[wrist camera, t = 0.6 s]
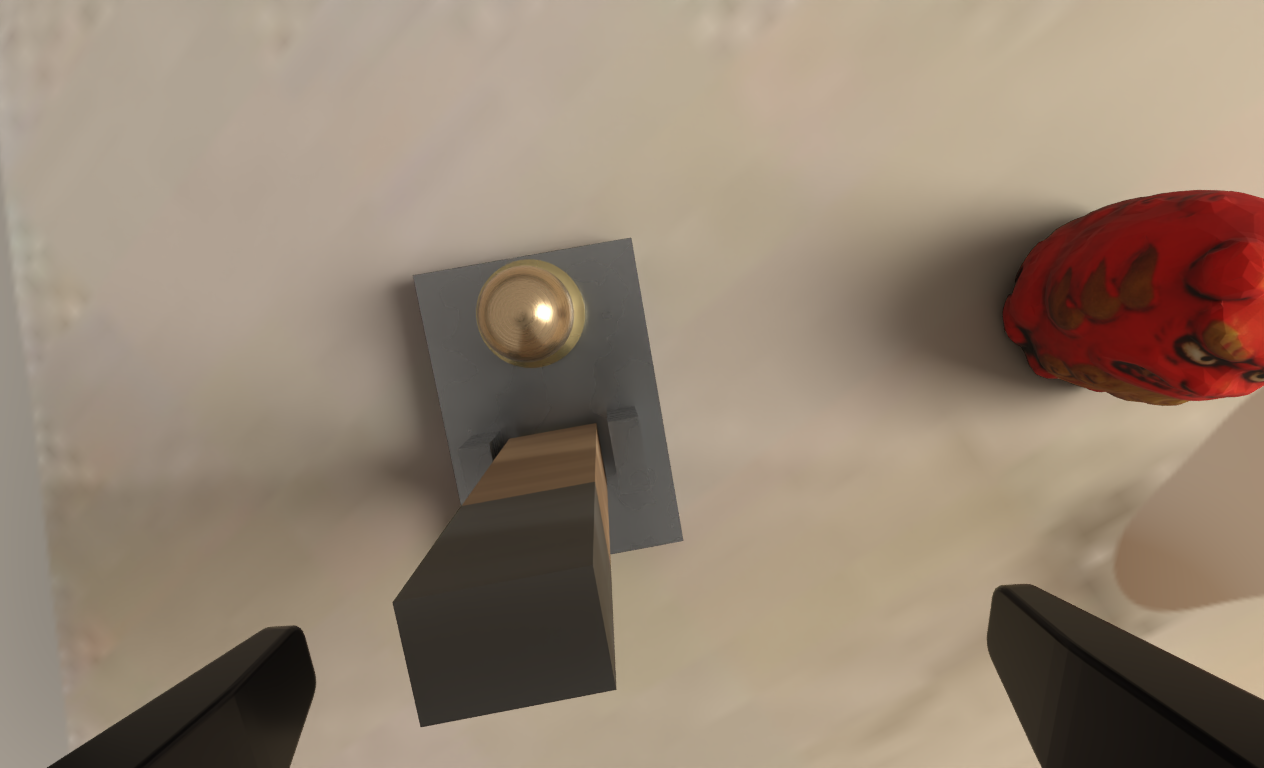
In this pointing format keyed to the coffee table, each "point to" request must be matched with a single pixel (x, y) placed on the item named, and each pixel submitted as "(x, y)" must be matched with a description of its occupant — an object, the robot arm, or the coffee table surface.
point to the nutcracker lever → (516, 586)
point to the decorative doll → (1149, 299)
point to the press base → (554, 372)
